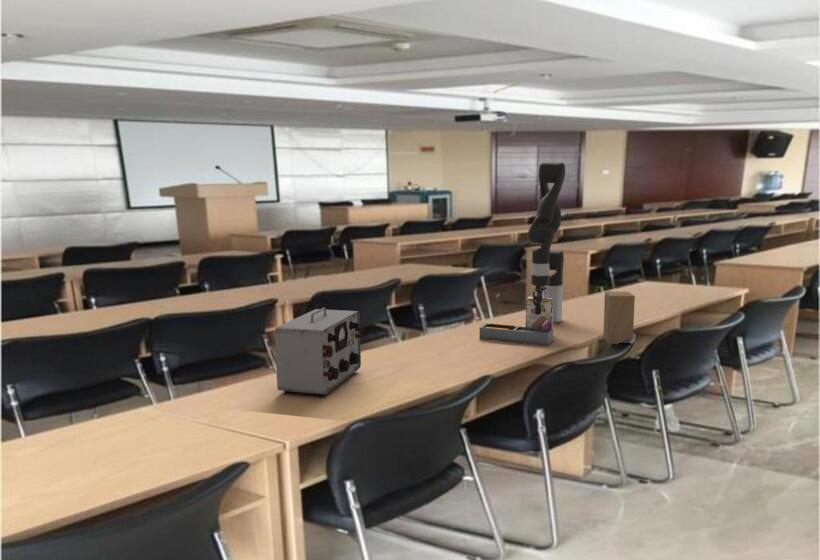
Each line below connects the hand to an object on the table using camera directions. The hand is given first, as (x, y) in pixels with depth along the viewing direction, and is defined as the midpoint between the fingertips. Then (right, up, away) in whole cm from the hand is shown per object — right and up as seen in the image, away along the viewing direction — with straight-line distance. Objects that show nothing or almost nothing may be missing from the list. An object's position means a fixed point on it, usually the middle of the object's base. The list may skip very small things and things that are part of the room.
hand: (539, 312), depth 283 cm
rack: (-11, -11, -5) cm, 16 cm away
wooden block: (+30, -11, -9) cm, 34 cm away
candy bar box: (0, -10, +2) cm, 10 cm away
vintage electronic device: (-84, -21, -58) cm, 104 cm away
